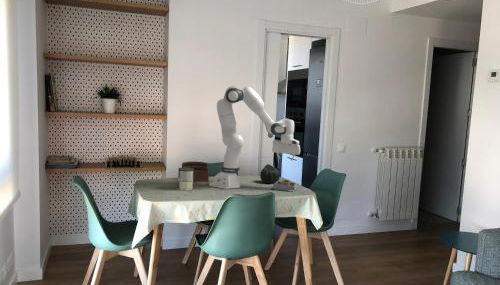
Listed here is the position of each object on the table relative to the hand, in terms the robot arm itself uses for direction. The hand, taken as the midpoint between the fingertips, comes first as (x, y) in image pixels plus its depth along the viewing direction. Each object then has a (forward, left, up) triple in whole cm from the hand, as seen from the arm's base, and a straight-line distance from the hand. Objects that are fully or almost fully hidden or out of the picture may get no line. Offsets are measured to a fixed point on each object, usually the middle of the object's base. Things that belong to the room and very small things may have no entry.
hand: (285, 159), depth 296 cm
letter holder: (-67, -6, -22) cm, 71 cm away
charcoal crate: (+1, -1, -21) cm, 21 cm away
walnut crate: (+1, -1, -21) cm, 21 cm away
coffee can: (-62, -36, -22) cm, 74 cm away
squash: (-15, +16, -22) cm, 31 cm away
